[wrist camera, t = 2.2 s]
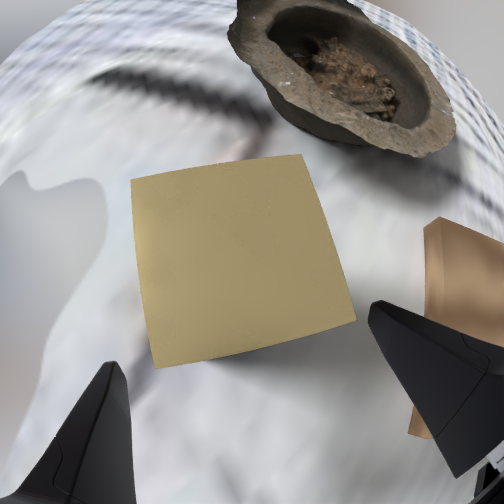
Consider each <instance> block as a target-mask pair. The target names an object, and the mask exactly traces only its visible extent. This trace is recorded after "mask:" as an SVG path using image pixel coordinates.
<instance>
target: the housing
mask: <svg viewBox="0 0 504 504" xmlns="http://www.w3.org/2000/svg"><path fill="white" fill-rule="evenodd" d="M131 198H132V214H133V227H134V238H135V248H136V258H137V266H138V274H139V282H140V289H141V296H142V302H143V308H144V314H145V320H146V326H147V331H148V336H149V342H150V347H151V351H152V356H153V361H154V365H155V369H159V368H165V367H171V366H177V365H183V364H189V363H194V362H199V361H205V360H210V359H215V358H219V357H224V356H229V355H233V354H238V353H242V352H247V351H251V350H255V349H259V348H263V347H267V346H271V345H275V344H279V343H283V342H287V341H290V340H294V339H298V338H301V337H305V336H308V335H312V334H315V333H319V332H322V331H325V330H329V329H332V328H335V327H338V326H341V325H345V324H348V323H351V322H354V321H357V319H356V315H355V311H354V308H353V304H352V301H351V297H350V294H349V290H348V287H347V283H346V280H345V277H344V273H343V270H342V267H341V264H340V260H339V257H338V254H337V251H336V248H335V245H334V242H333V239H332V236H331V233H330V230H329V227H328V224H327V221H326V218H325V215H324V213H323V210H322V207H321V204H320V201H319V199H318V196H317V193H316V191H315V188H314V185H313V183H312V180H311V177H310V175H309V172H308V170H307V167H306V164H305V162H304V159H303V157H302V154H297V155H286V156H276V157H266V158H257V159H249V160H241V161H234V162H226V163H219V164H213V165H206V166H200V167H194V168H188V169H182V170H177V171H171V172H166V173H161V174H156V175H151V176H146V177H141V178H136V179H132V180H131Z"/></svg>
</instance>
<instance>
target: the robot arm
mask: <svg viewBox="0 0 504 504" xmlns="http://www.w3.org/2000/svg"><path fill="white" fill-rule="evenodd" d="M368 324H369V327H370V329H371V331H372V333H373V335H374V337H375V339H376V341H377V343H378V345H379V347H380V349H381V351H382V353H383V355H384V357H385V358H386V360H387V362H388V363H389V365H390V366H391V368H392V370H393V371H394V373H395V374H396V376H397V378H398V379H399V381H400V382H401V384H402V386H403V387H404V389H405V391H406V392H407V394H408V395H409V397H410V399H411V400H412V402H413V404H414V405H415V407H416V409H417V411H418V412H419V414H420V416H421V417H422V419H423V421H424V422H425V424H426V426H427V428H428V429H429V431H430V433H431V435H432V436H433V438H434V440H435V442H436V444H437V446H438V447H439V449H440V451H441V453H442V455H443V456H444V458H445V460H446V462H447V464H448V466H449V468H450V469H451V471H452V473H453V475H454V477H455V478H456V479H457V478H458V477H459V476H461V475H462V474H464V473H465V472H466V471H468V470H469V469H470V468H472V467H473V466H474V465H475V464H477V463H478V462H479V461H480V460H482V459H483V458H484V457H485V456H486V458H487V459H488V460H489V462H487V463H486V464H485V465H484V466H483V467H482V468H481V469H480V470H479V472H478V477H477V483H476V488H475V492H474V497H475V498H474V499H473V500H472V501H471V502H470V503H468V504H504V347H502V346H498V345H495V344H492V343H489V342H486V341H483V340H480V339H477V338H475V337H472V336H469V335H467V334H464V333H462V332H459V331H457V330H455V329H452V328H450V327H447V326H445V325H442V324H440V323H437V322H435V321H433V320H430V319H428V318H425V317H423V316H420V315H418V314H415V313H413V312H410V311H408V310H405V309H403V308H401V307H398V306H396V305H393V304H391V303H388V302H386V301H383V300H379V301H376V302H373V303H372V304H371V307H370V312H369V316H368ZM0 504H137V503H136V494H135V484H134V472H133V456H132V429H131V415H130V407H129V398H128V389H127V380H126V377H125V375H124V373H123V372H122V370H121V368H120V366H119V365H118V363H117V362H116V361H109V362H105V363H104V364H103V365H102V366H101V368H100V369H99V371H98V372H97V374H96V375H95V376H94V378H93V379H92V381H91V382H90V384H89V385H88V387H87V388H86V390H85V391H84V393H83V394H82V395H81V397H80V398H79V400H78V401H77V403H76V404H75V406H74V407H73V409H72V411H71V412H70V414H69V415H68V417H67V418H66V420H65V421H64V423H63V424H62V426H61V428H60V429H59V431H58V432H57V434H56V437H54V439H53V440H52V442H51V443H50V445H49V446H48V448H47V450H46V451H45V453H44V454H43V456H42V457H41V458H40V460H39V461H38V463H37V464H36V465H35V467H34V468H33V469H32V471H31V472H30V473H29V475H28V476H27V477H26V479H25V480H24V481H23V483H22V484H21V485H20V487H19V488H18V489H17V490H16V491H15V492H14V493H12V494H11V495H9V496H6V497H4V498H0Z"/></svg>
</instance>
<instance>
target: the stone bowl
mask: <svg viewBox="0 0 504 504" xmlns="http://www.w3.org/2000/svg"><path fill="white" fill-rule="evenodd" d="M237 10H238V12H237V17H236V18H235V20H234V22H233V23H232V24H230V25H229V30H228V32H227V36H228V40H229V42H230V44H231V46H232V47H233V49H234V51H235V53H236V54H237V56H238V57H239V58H240V60H242V61H243V62H245V63H247V64H248V65H250V66H251V69H252V72H253V74H254V75H255V76H256V77H257V78H258V79H259V80H260V81H261V83H262V84H263V86H264V87H265V88H266V91H267V94H268V97H269V99H270V101H271V103H272V105H273V107H274V108H275V109H276V110H277V111H278V112H279V113H280V114H281V115H282V116H283V117H284V118H285V119H286V120H288V121H289V122H291V123H292V124H294V125H296V126H299V127H302V128H304V129H307V130H309V131H310V132H311V133H313V134H314V135H316V136H317V137H320V138H323V139H327V140H331V141H334V142H335V141H340V142H344V143H349V144H354V145H365V146H378V147H379V148H382V149H386V148H388V149H391V150H393V151H396V152H399V153H402V154H409V155H411V156H413V157H418V158H424V157H425V156H426V155H427V154H428V152H433V153H434V152H435V151H438V150H441V149H442V148H443V147H446V146H448V145H449V142H450V141H451V140H452V139H453V137H454V135H455V132H456V123H455V119H454V118H453V117H452V116H453V115H452V113H451V112H453V109H452V107H451V104H450V99H449V98H448V96H447V95H446V93H445V91H444V89H443V88H442V86H441V84H440V83H439V81H438V80H437V79H436V78H435V76H434V75H433V73H432V72H431V70H430V68H429V66H428V65H427V64H426V63H425V62H424V61H423V60H422V59H421V58H420V57H419V55H418V54H417V53H416V52H414V50H413V49H412V48H410V47H409V46H408V45H407V44H406V43H404V42H403V41H402V40H400V39H399V38H397V37H395V36H394V35H392V34H391V33H390V32H388V31H387V30H385V29H384V28H382V27H380V26H378V25H376V24H374V23H372V22H371V21H370V20H369V18H368V17H367V16H366V15H365V14H364V13H363V12H362V10H361V9H360V8H359V7H356V6H354V5H353V4H351V3H349V2H348V1H347V0H237ZM294 53H300V54H303V55H304V56H305V57H295V56H294V55H293V54H294ZM289 57H292V59H290V58H289Z"/></svg>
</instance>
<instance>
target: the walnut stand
mask: <svg viewBox="0 0 504 504" xmlns="http://www.w3.org/2000/svg"><path fill="white" fill-rule="evenodd" d="M424 245H425V315H424V317H425V318H428V319H430V320H433V321H435V322H437V323H440V324H442V325H445V326H447V327H450V328H452V329H455V330H457V331H459V332H462V333H464V334H467V335H469V336H472V337H475V338H477V339H480V340H483V341H486V342H489V343H492V344H495V345H498V346H502V347H504V244H503V243H501V242H499V241H497V240H494V239H492V238H490V237H488V236H485V235H483V234H481V233H479V232H476V231H474V230H472V229H469V228H467V227H464V226H462V225H460V224H457V223H455V222H452V221H450V220H447V219H445V218H442V217H438V218H437V219H435V220H434V221H432V222H431V223H430V224H428V225H427V226H425V227H424ZM408 434H411V435H415V436H418V437H421V438H424V439H430V438H433V436H432V435H431V433H430V431H429V429H428V428H427V426H426V424H425V422H424V421H423V419H422V417H421V416H420V414H419V412H418V411H417V409H416V407H415V405H414V407H413V412H412V417H411V422H410V427H409V431H408Z"/></svg>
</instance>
